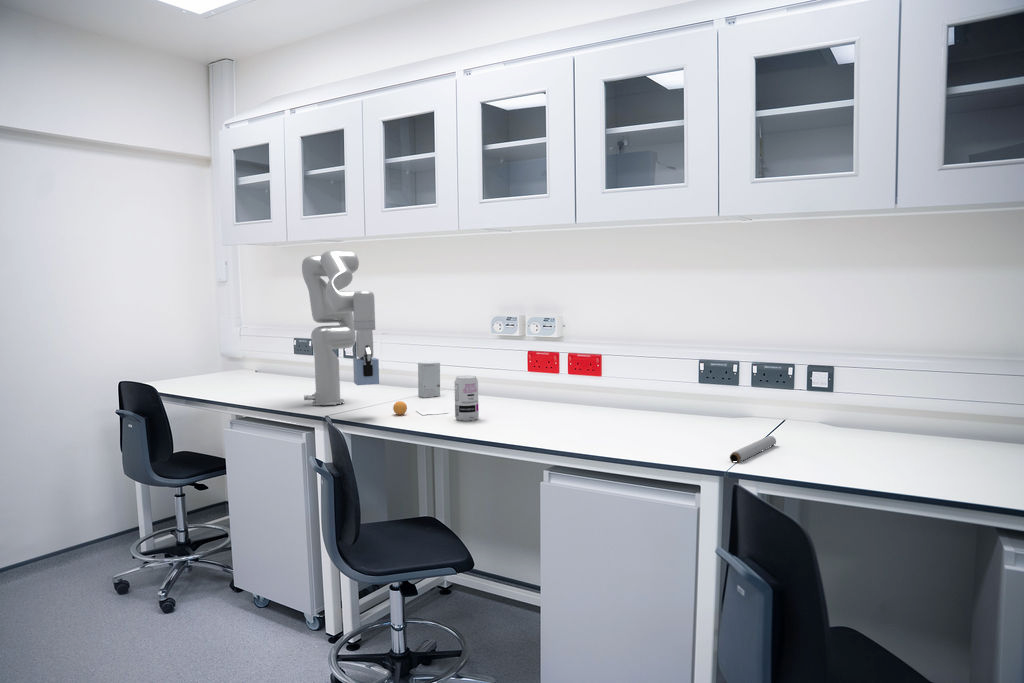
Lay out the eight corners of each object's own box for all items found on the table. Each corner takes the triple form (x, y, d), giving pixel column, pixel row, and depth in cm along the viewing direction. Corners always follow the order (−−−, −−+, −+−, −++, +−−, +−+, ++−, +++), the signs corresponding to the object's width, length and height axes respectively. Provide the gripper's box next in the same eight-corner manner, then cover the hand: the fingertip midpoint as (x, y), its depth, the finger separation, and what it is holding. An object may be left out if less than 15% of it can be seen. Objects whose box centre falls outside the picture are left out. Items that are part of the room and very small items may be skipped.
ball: (394, 416, 239) (394, 402, 239) (392, 414, 244) (391, 400, 244) (408, 415, 241) (408, 401, 241) (405, 413, 246) (405, 399, 245)
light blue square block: (357, 385, 232) (356, 360, 231) (354, 382, 239) (353, 358, 239) (379, 384, 235) (378, 359, 234) (375, 381, 242) (374, 357, 241)
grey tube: (739, 465, 170) (776, 447, 189) (739, 453, 170) (776, 436, 188) (728, 463, 172) (765, 445, 191) (728, 451, 172) (765, 435, 190)
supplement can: (465, 416, 239) (464, 374, 238) (483, 418, 234) (482, 376, 233) (450, 419, 232) (449, 377, 231) (468, 422, 227) (468, 379, 226)
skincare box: (422, 398, 279) (421, 363, 278) (417, 396, 284) (416, 362, 283) (441, 396, 283) (440, 362, 281) (436, 394, 288) (435, 360, 287)
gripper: (350, 325, 242) (352, 373, 244) (357, 327, 226) (359, 378, 227) (371, 324, 245) (372, 371, 246) (379, 326, 229) (381, 376, 230)
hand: (366, 374), depth 237 cm, fingers closed on light blue square block, 7 cm apart
